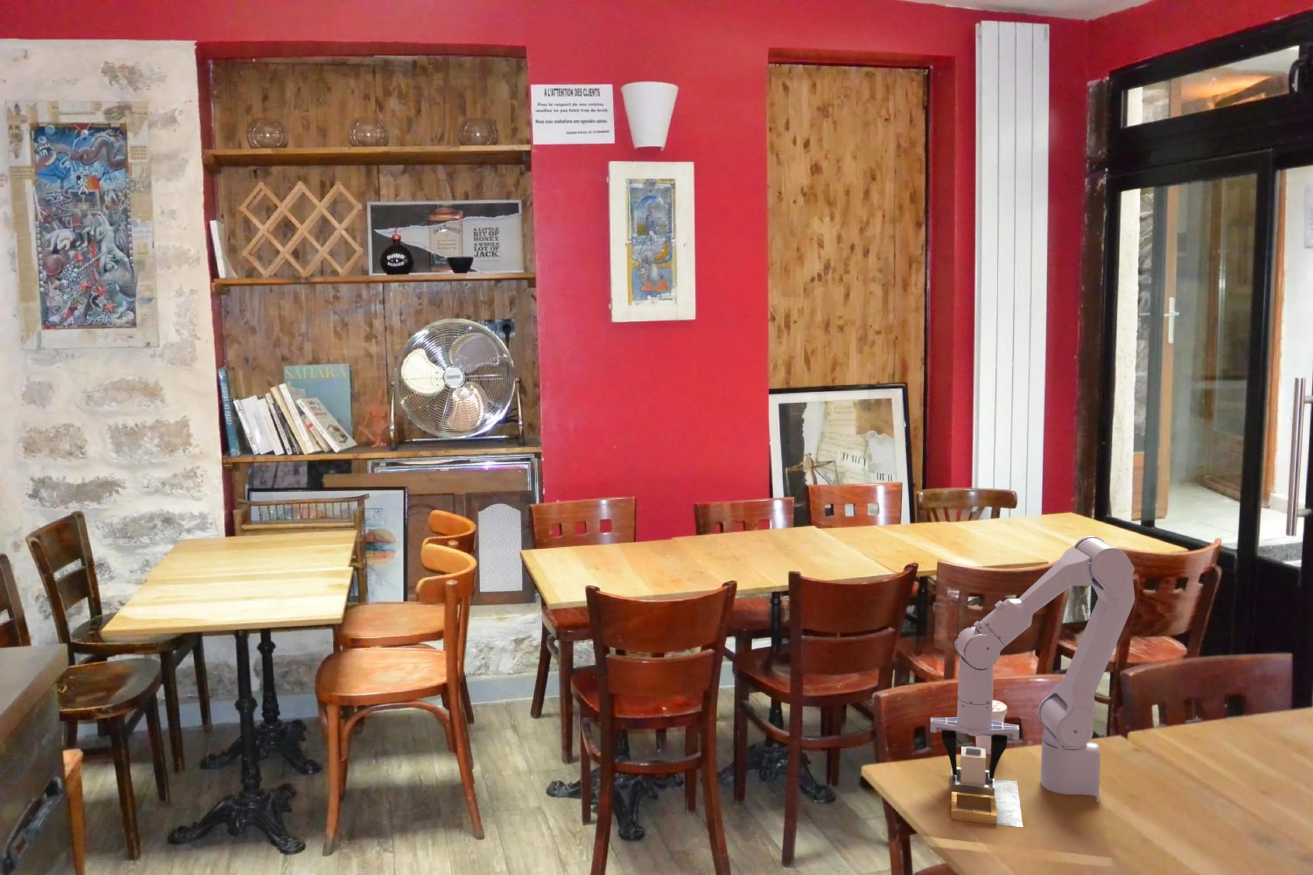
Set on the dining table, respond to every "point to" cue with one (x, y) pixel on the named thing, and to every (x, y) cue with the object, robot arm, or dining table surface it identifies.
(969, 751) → the plug
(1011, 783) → the panel
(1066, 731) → the robot arm
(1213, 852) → the dining table surface
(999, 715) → the smoothie
